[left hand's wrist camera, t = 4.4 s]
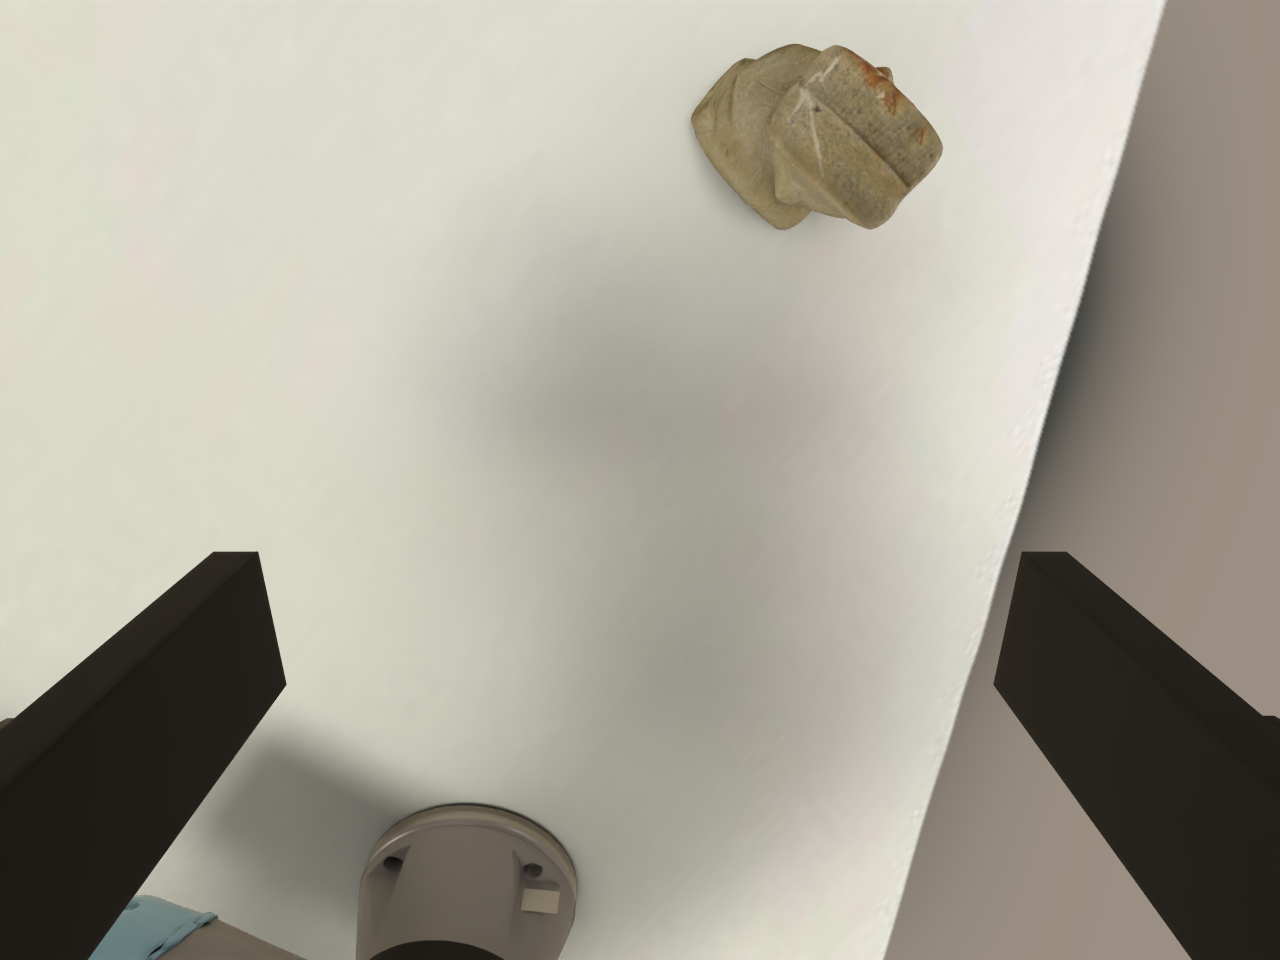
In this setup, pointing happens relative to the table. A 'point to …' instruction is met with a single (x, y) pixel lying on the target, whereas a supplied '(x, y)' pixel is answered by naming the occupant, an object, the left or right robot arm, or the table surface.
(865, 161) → the sculpture
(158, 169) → the table surface
